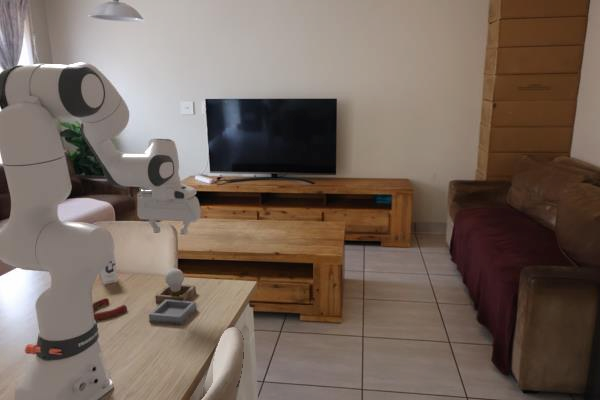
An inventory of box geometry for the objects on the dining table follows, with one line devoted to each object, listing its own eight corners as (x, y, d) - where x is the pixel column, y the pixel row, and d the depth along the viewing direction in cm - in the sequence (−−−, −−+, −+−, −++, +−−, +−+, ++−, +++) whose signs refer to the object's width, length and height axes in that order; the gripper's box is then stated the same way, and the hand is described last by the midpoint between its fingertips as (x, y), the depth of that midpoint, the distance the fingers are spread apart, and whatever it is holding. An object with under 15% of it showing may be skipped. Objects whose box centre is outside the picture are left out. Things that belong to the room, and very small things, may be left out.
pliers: (44, 330, 132) (42, 322, 131) (106, 303, 148) (105, 296, 147) (66, 341, 125) (64, 332, 125) (129, 312, 142) (128, 304, 141)
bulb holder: (182, 305, 144) (182, 298, 144) (155, 302, 146) (155, 295, 146) (195, 292, 153) (195, 285, 152) (170, 290, 155) (169, 283, 155)
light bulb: (174, 303, 146) (172, 274, 143) (163, 298, 149) (160, 270, 147) (189, 296, 150) (187, 268, 148) (177, 292, 154) (175, 264, 151)
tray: (180, 325, 132) (180, 317, 131) (149, 321, 134) (148, 314, 133) (195, 309, 141) (195, 301, 141) (166, 306, 143) (165, 299, 143)
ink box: (99, 277, 168) (95, 246, 165) (113, 274, 171) (109, 244, 168) (103, 285, 161) (99, 253, 158) (118, 281, 164) (114, 250, 161)
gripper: (130, 192, 141) (135, 234, 144) (192, 194, 136) (195, 238, 139) (141, 187, 147) (146, 228, 150) (201, 189, 142) (204, 231, 145)
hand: (170, 233), depth 145 cm, fingers open, 8 cm apart
